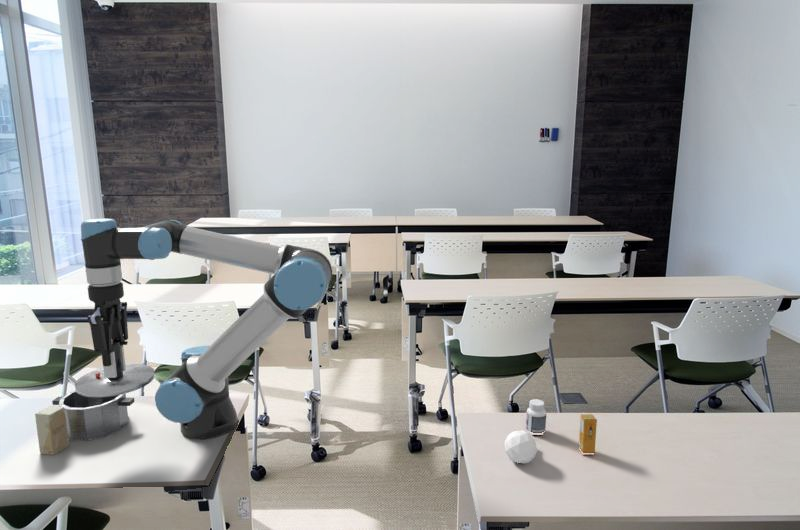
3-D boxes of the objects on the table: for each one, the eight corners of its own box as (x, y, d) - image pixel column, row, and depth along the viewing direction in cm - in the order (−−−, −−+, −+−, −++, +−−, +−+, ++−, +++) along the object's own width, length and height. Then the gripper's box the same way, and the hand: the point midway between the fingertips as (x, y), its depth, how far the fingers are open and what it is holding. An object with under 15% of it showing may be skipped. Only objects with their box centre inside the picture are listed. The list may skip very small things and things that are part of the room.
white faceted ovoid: (495, 451, 130) (503, 434, 141) (521, 476, 128) (527, 456, 139) (515, 430, 128) (522, 414, 139) (542, 455, 126) (546, 436, 137)
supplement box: (590, 448, 138) (593, 413, 136) (594, 455, 135) (597, 420, 133) (577, 448, 138) (580, 413, 136) (581, 455, 135) (584, 419, 133)
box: (53, 455, 134) (47, 415, 132) (39, 453, 135) (33, 413, 133) (70, 444, 139) (64, 406, 137) (56, 443, 140) (50, 404, 138)
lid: (166, 368, 141) (163, 331, 138) (132, 397, 123) (128, 356, 121) (101, 367, 141) (97, 331, 139) (58, 397, 124) (53, 356, 122)
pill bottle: (549, 433, 146) (551, 403, 144) (536, 438, 143) (538, 408, 141) (534, 425, 150) (536, 396, 148) (521, 430, 147) (523, 401, 145)
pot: (148, 412, 157) (145, 384, 155) (119, 440, 141) (115, 409, 139) (76, 411, 157) (72, 383, 155) (39, 439, 141) (34, 408, 140)
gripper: (108, 275, 135) (118, 361, 140) (68, 291, 119) (80, 387, 124) (137, 275, 135) (146, 361, 140) (100, 291, 119) (111, 387, 124)
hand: (115, 373), depth 132 cm, fingers closed on lid, 3 cm apart
